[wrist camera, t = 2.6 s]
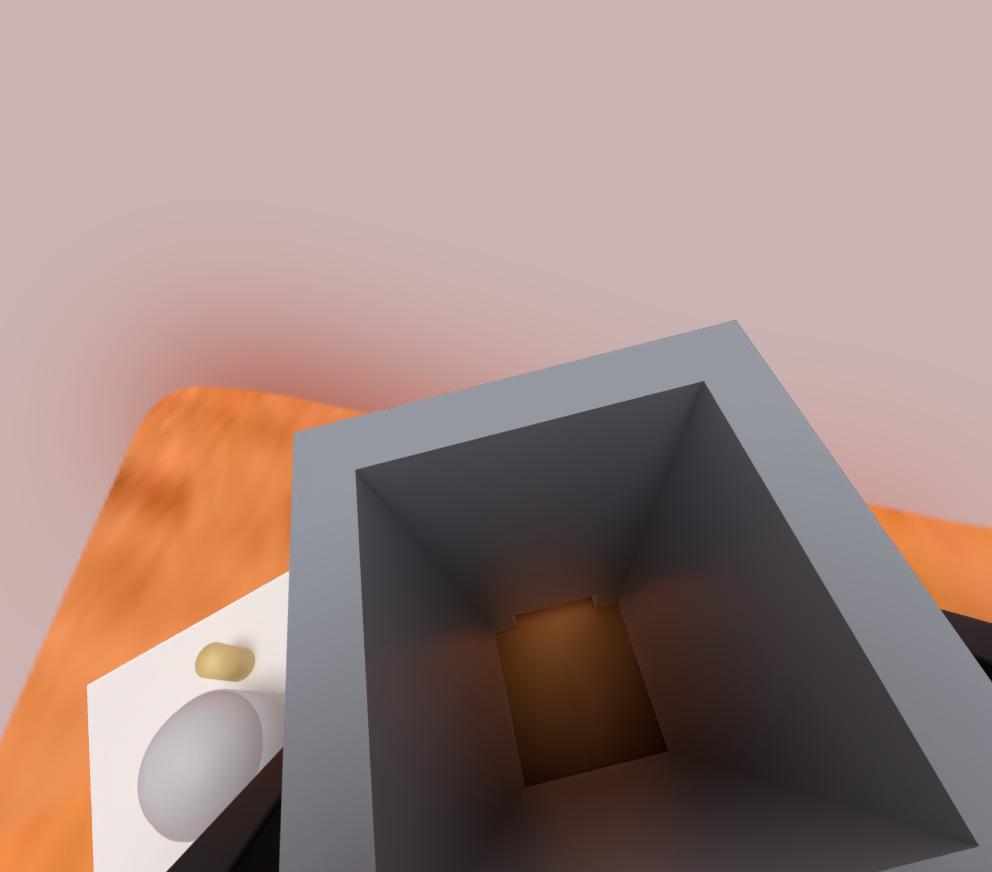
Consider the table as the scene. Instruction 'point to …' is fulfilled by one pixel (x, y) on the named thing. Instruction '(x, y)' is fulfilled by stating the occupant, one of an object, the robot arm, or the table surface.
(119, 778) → the post board
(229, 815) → the robot arm
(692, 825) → the sleeve
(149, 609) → the table surface
